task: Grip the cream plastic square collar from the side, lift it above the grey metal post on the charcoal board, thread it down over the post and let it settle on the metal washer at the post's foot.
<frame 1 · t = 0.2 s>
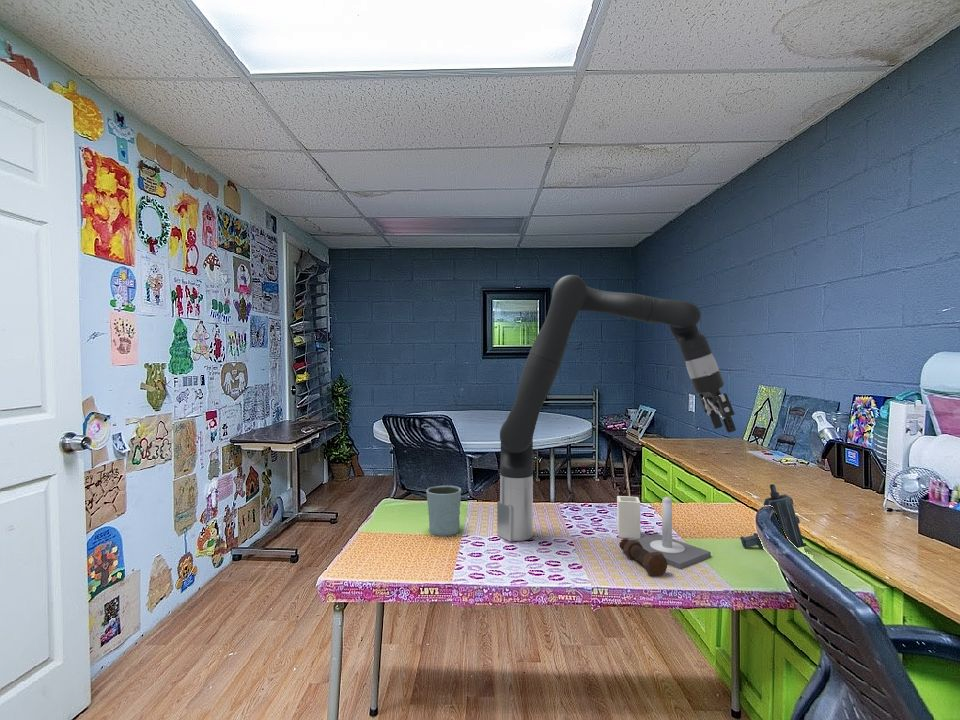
hand: (724, 429, 133), 31 cm above the table, tool tilted 20°, fingers open, 8 cm apart
bolt: (640, 564, 120), on the table
drinking glass: (443, 531, 143), on the table
gun: (772, 549, 129), on the table
post stand: (667, 551, 127), on the table
collar: (628, 534, 140), on the table
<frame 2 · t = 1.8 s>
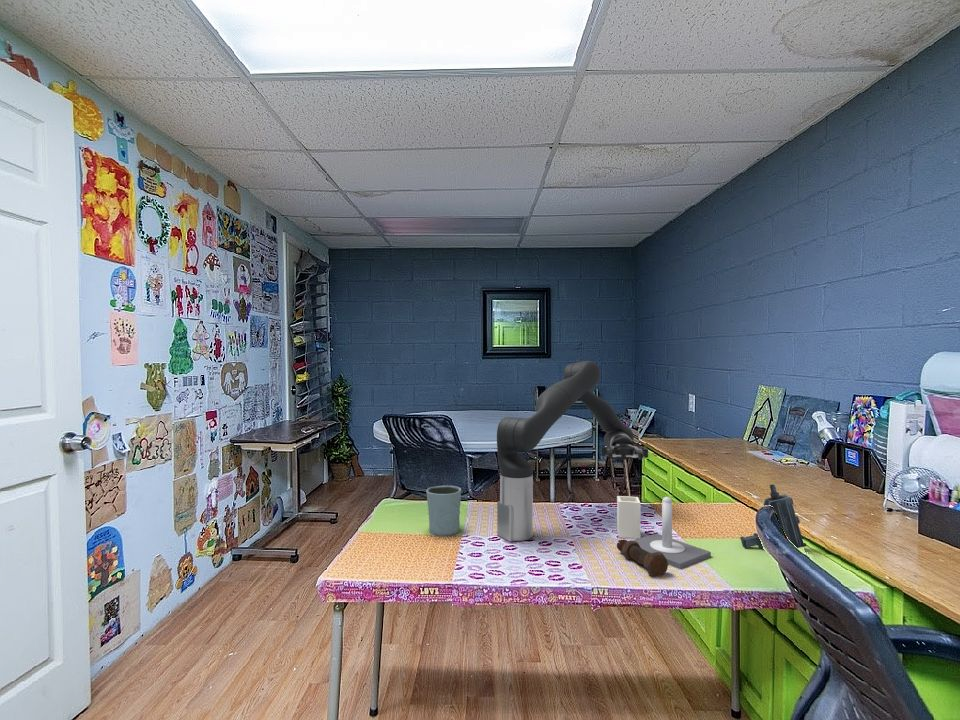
hand: (625, 455, 150), 20 cm above the table, tool horizontal, fingers open, 8 cm apart
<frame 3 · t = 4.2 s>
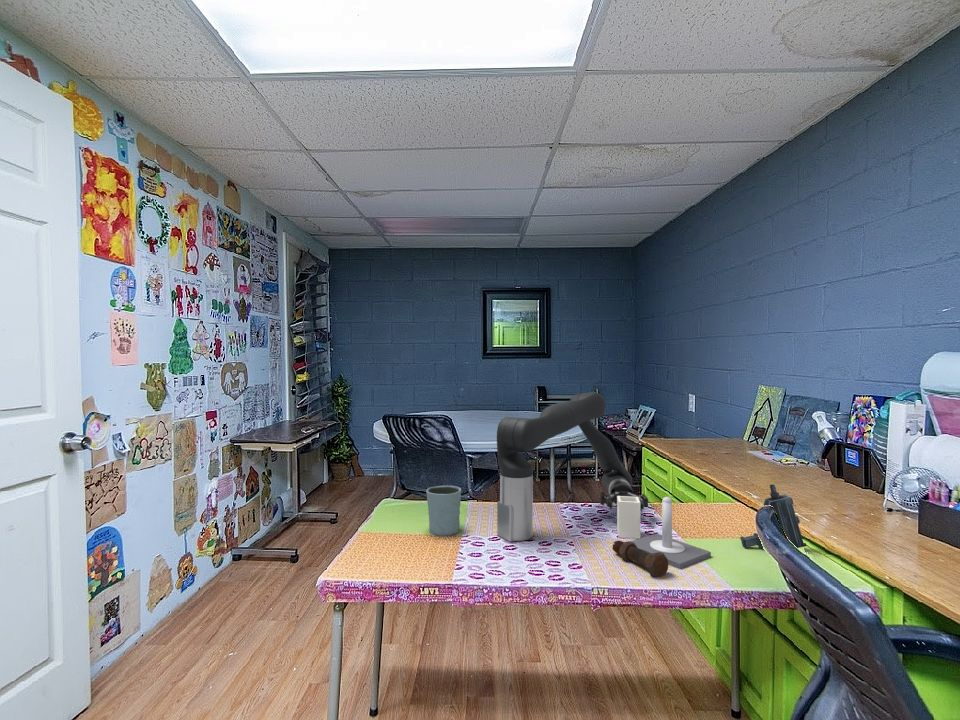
hand: (625, 506, 147), 6 cm above the table, tool horizontal, fingers open, 8 cm apart
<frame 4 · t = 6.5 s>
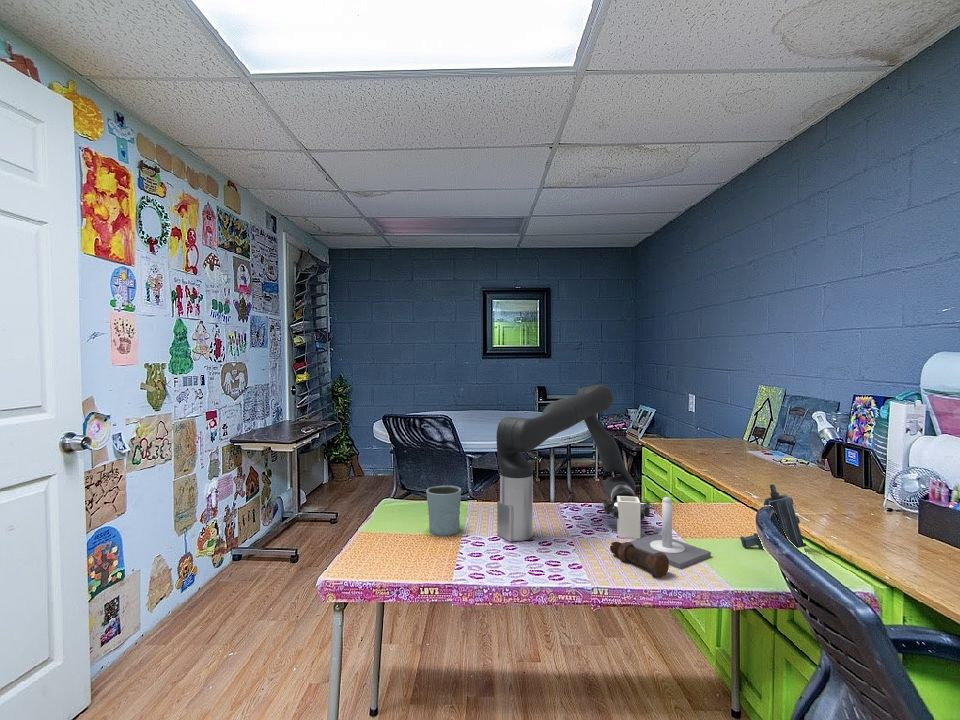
hand: (629, 515, 137), 6 cm above the table, tool horizontal, fingers closed on collar, 5 cm apart
collar: (628, 534, 140), on the table, touching gripper
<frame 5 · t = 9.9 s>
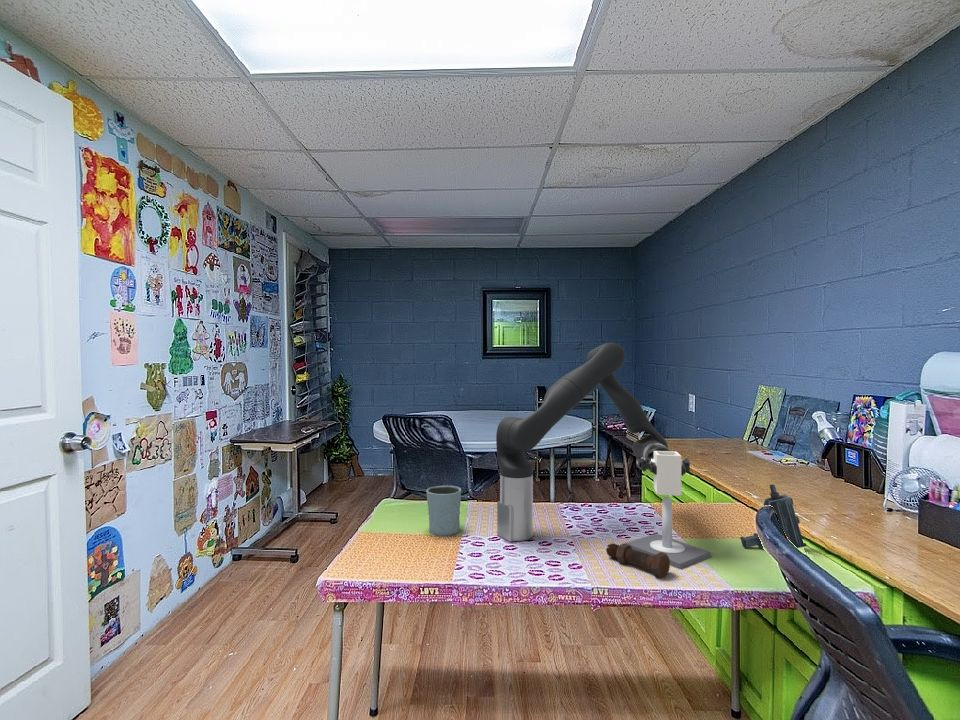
hand: (668, 470, 125), 21 cm above the table, tool horizontal, fingers closed on collar, 5 cm apart
collar: (667, 491, 127), point 15 cm above the table, touching gripper
when the fingers open (8 cm above the table, at t = 13.8 s): collar stays where it is, resting on post stand.
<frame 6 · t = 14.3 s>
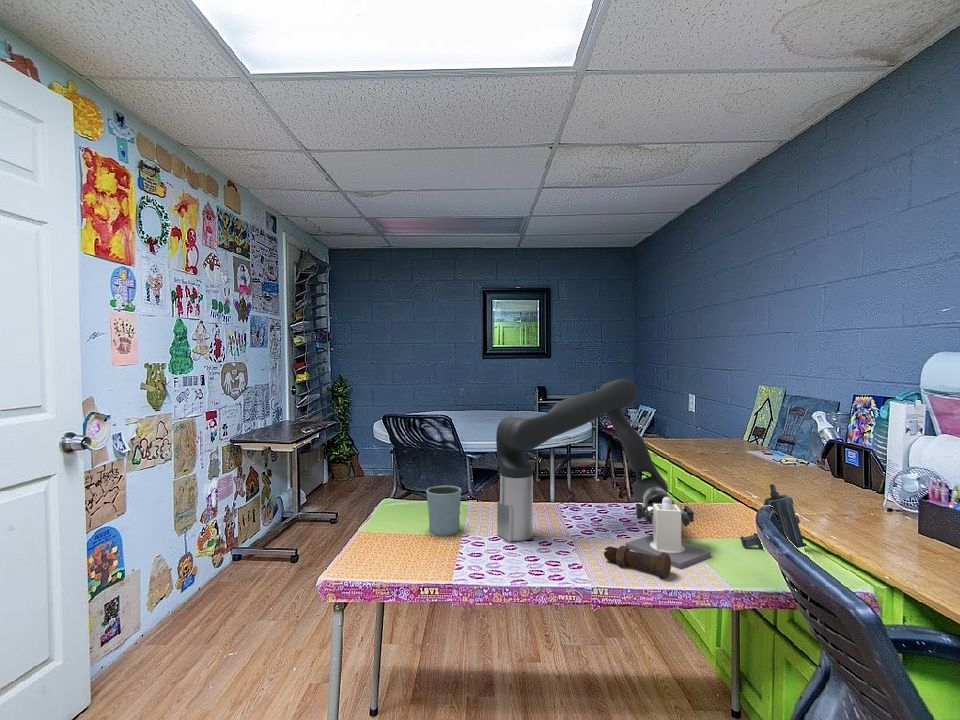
hand: (668, 521, 125), 9 cm above the table, tool horizontal, fingers open, 8 cm apart
bolt: (635, 569, 117), on the table
collar: (666, 546, 127), point 1 cm above the table, touching post stand
everything else where it was.
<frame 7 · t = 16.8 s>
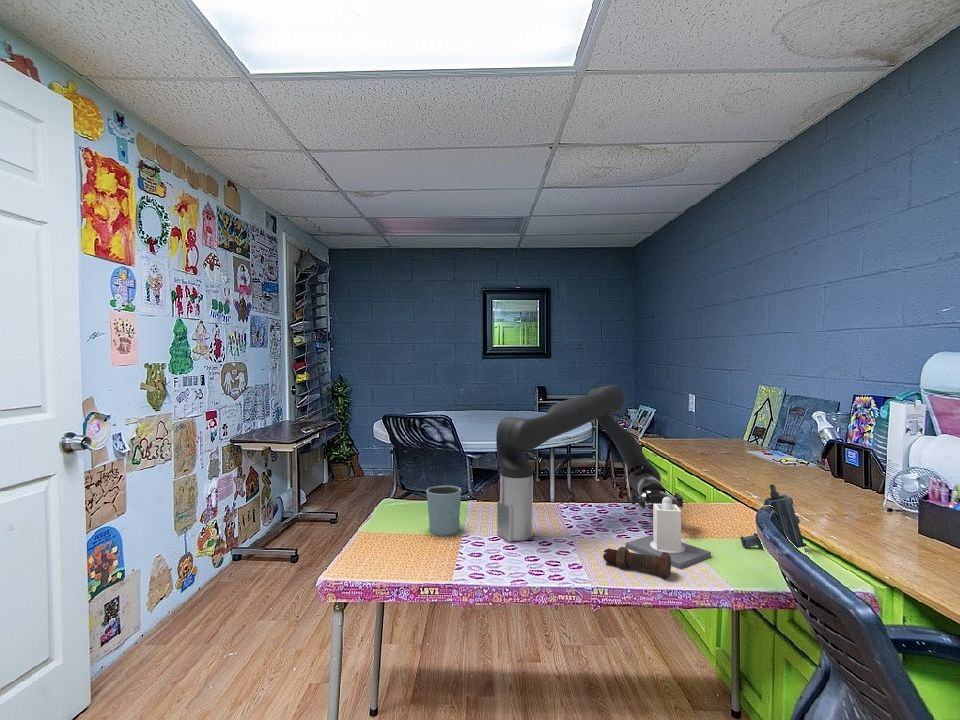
hand: (659, 506, 138), 9 cm above the table, tool horizontal, fingers open, 8 cm apart
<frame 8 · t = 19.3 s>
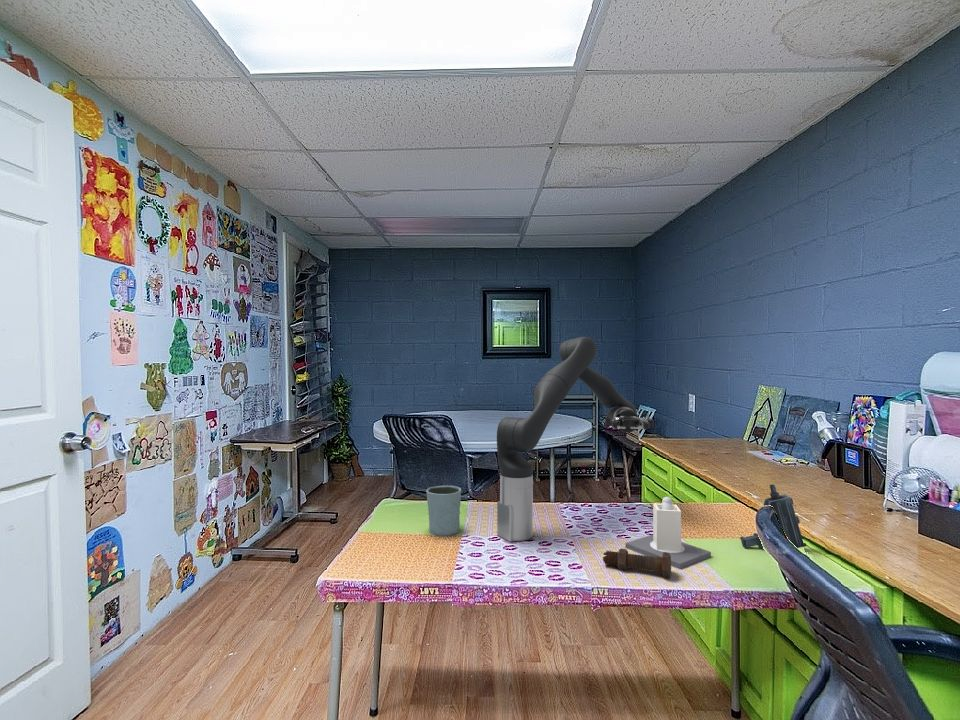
hand: (631, 425, 146), 30 cm above the table, tool horizontal, fingers open, 8 cm apart
at the end: collar 0.1 cm from the post stand (horizontally); collar point 1.5 cm above the table; collar tilted 0° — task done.
